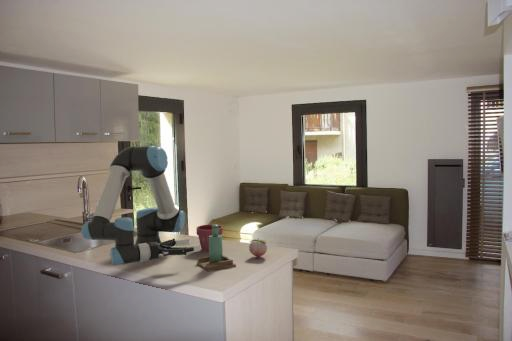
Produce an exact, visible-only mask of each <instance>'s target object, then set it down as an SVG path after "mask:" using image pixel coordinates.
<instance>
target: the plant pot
mask: <svg viewBox="0 0 512 341" xmlns="http://www.w3.org/2000/svg"><path fill="white" fill-rule="evenodd" d="M212 225H214V224H211V223H210V224H201V225H199V226H197V227H196V235H197V236H198V239H199V245H200V250H201V251H202V252H204V251H205V252H206V253H209V236H210V235H213V233H212ZM218 225H219V224H218ZM223 230H224V229H223V226H222V225H221V224H220V225H219V227H218V235H223V232H224V231H223ZM205 252H204V253H205Z"/></svg>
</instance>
